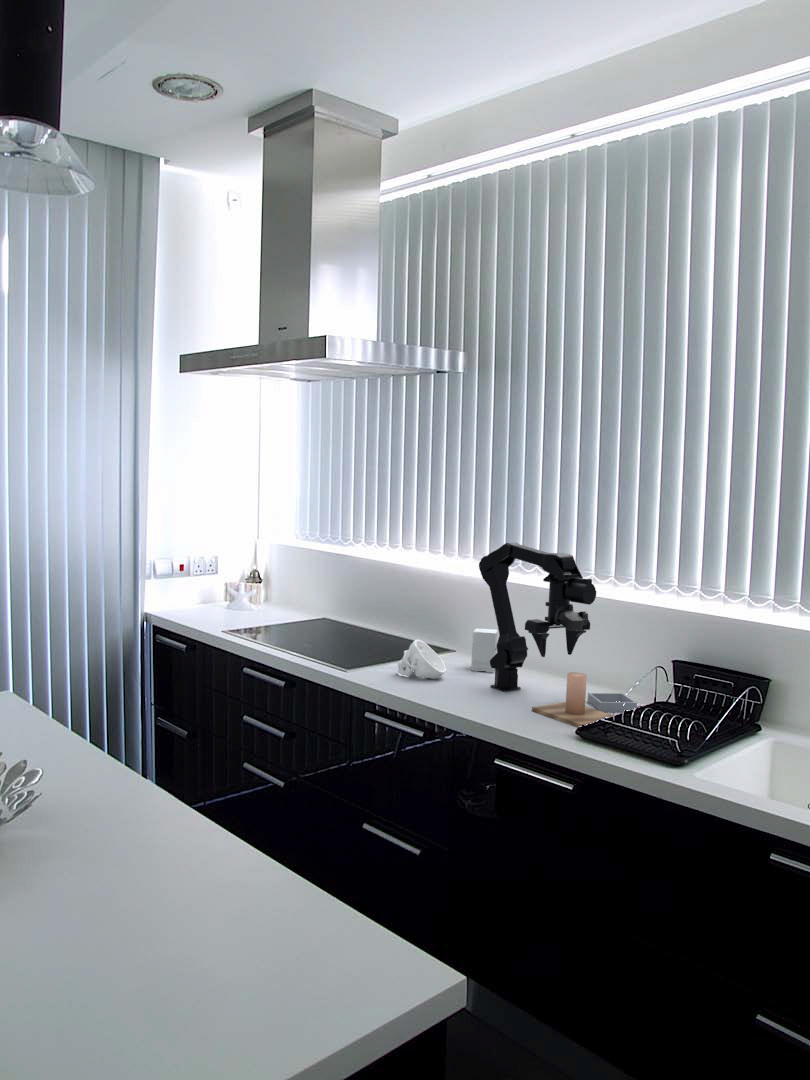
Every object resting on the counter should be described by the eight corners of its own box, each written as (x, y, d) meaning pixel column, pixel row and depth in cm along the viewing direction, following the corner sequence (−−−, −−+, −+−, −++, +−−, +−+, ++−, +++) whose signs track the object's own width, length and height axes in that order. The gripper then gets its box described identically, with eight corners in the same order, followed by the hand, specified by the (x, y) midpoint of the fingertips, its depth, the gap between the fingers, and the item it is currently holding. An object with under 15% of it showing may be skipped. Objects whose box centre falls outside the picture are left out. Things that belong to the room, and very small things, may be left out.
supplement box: (494, 673, 288) (495, 633, 287) (470, 671, 289) (472, 631, 288) (496, 668, 295) (498, 629, 294) (473, 666, 297) (475, 627, 296)
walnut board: (531, 710, 245) (531, 707, 245) (569, 704, 253) (569, 701, 253) (580, 728, 230) (581, 724, 230) (619, 721, 238) (619, 717, 238)
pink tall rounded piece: (563, 709, 244) (565, 672, 243) (581, 709, 244) (583, 672, 243) (568, 714, 239) (570, 676, 238) (587, 714, 239) (589, 677, 238)
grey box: (599, 711, 247) (600, 702, 246) (587, 701, 257) (587, 693, 257) (636, 711, 248) (636, 702, 248) (622, 701, 258) (622, 693, 258)
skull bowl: (399, 665, 288) (419, 634, 284) (433, 694, 284) (454, 663, 280) (384, 671, 278) (406, 639, 275) (419, 701, 274) (442, 669, 271)
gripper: (550, 605, 241) (547, 664, 242) (605, 602, 250) (602, 659, 252) (524, 599, 251) (522, 655, 252) (578, 596, 260) (575, 651, 261)
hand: (556, 655), depth 254 cm, fingers open, 9 cm apart
